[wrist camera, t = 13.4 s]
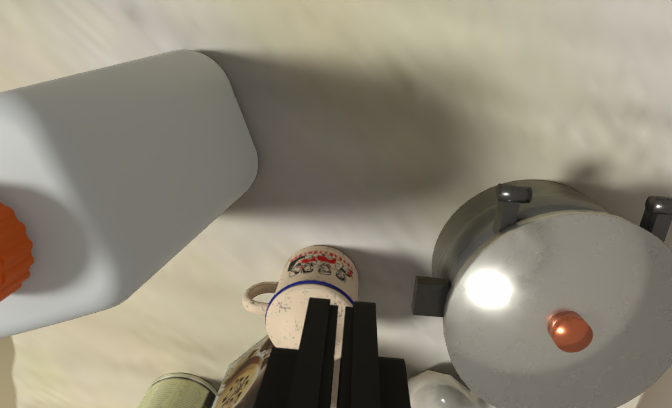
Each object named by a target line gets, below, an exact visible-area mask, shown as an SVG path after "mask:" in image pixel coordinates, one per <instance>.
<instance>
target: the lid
mask: <svg viewBox="0 0 672 408" xmlns="http://www.w3.org/2000/svg"><path fill="white" fill-rule="evenodd" d="M443 330H444V337H445V342H446V346H447V350H448V353H449V356H450V359H451V361H452V364H453V366H454V368H455V370H456V371H457V373H458V375H459V377H460V378H461V379H462V380H463V382H464V383H465V384H466V385H467V387H468V388H469V389H470V390H471V391H473V392H474V393H475V394H476V395H477V396H478V397H480V398H481V399H482V400H484V401H485V402H487V403H488V404H490V405H492V406H494V407H495V408H616V407H619V406H621V405H623V404H625V403H627V402H629V401H630V400H632V399H633V398H635V397H637V396H638V395H640V394H641V393H643V392H644V391H645V390H647V389H648V388H649V387H650V386H652V385H653V384H654V383H655V382H656V381H657V380H658V379H659V378H660V377H661V376H662V375H663V374H664V373H665V372H666V371H667V369H668V368H669V367H670V366H671V364H672V251H671V249H670V248H669V247H668V246H667V245H666V244H665V243H663V242H662V241H661V240H660V239H659V238H658V237H656V236H655V235H653V234H652V233H650V232H648V231H647V230H645V229H643V228H642V227H640V226H639V225H637V224H635V223H633V222H631V221H629V220H627V219H624V218H622V217H619V216H616V215H612V214H609V213H605V212H599V211H592V210H563V211H554V212H549V213H545V214H540V215H536V216H533V217H530V218H528V219H525V220H522V221H520V222H517V223H515V224H513V225H511V226H509V227H507V228H505V229H504V230H502V231H500V232H499V233H497V234H496V235H494V236H492V237H491V238H490V239H489V240H487V241H486V242H485V243H484V244H482V245H481V246H480V247H479V248H478V249H477V250H476V251H475V252H474V253H473V254H472V255H471V256H470V257H469V258H468V259H467V261H466V262H465V263H464V265H463V266H462V267H461V269H460V270H459V272H458V274H457V275H456V277H455V279H454V281H453V282H452V285H451V287H450V290H449V292H448V295H447V299H446V303H445V307H444V315H443Z"/></svg>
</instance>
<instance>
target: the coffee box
mask: <svg viewBox="0 0 672 408" xmlns="http://www.w3.org/2000/svg"><path fill="white" fill-rule="evenodd" d="M273 347H275V346H274V344H273V343H272V341H271V340H270V338H269V336H268V335H267V336H265V337H264V338H263V339H262V340H260V341H259V342H258V343H257V344H255V345H254V346H253V347H252V348H250V349H249V350H248V351H247V352H245V353H244V354H243V355H242V356H240V357H239V358H238V359H236V360H235V361H234V362H233V363H231V364H230V365H229V367H228V369H227V372H226V374H225V376H224V379H223V381H222V384H221V386H220V388H219V391H218V393H217V396H216V398H215V401H214V403H213V406H212V408H254V407H255V403H256V400H257V397H258V393H259V390H260V387H261V383H262V380H263V376H264V373H265V370H266V366H267V363H268V360H269V356H270V353H271V350H272V348H273Z"/></svg>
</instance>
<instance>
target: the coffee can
mask: <svg viewBox="0 0 672 408" xmlns="http://www.w3.org/2000/svg"><path fill="white" fill-rule="evenodd" d="M217 393H218V392H217V391H216V389H215V388H214V387H213V386H212V385H211V384H209V383H208V382H206V381H205V380H203V379H201V378H199V377H197V376H194V375H190V374H185V373H172V374H167V375H164V376H162V377H160V378H158V379H157V380H155V381H154V382H153V383H152V384H151V385H150V386H149V388H148V390H147V392H146V394H145V396H144V397H143V399H142V401H141V402H140V404H139V406H138V407H137V408H212V406H213V403H214V401H215V398H216V396H217Z"/></svg>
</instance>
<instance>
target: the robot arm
mask: <svg viewBox="0 0 672 408" xmlns="http://www.w3.org/2000/svg"><path fill="white" fill-rule="evenodd" d="M330 303H331V299H324V298H313V297H310V298H309V302H308V307H307V311H306V316H305V321H304V326H303V331H302V335H301V340H300V345H299V349H289V348H278V347H273V348H272V350H271V353H270V356H269V360H268V363H267V366H266V370H265V373H264V376H263V380H262V383H261V387H260V390H259V393H258V397H257V400H256V403H255V407H254V408H330V405H331V393H332V380H333V368H334V355H335V343H336V331H337V318H338V305H330ZM337 408H411V404H410V396H409V388H408V381H407V373H406V366H405V361H404V359H398V358H387V357H378V343H377V323H376V304H375V303H370V302H358V301H354V306H353V307H349V306H345V315H344V327H343V338H342V350H341V361H340V373H339V385H338V397H337Z"/></svg>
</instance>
